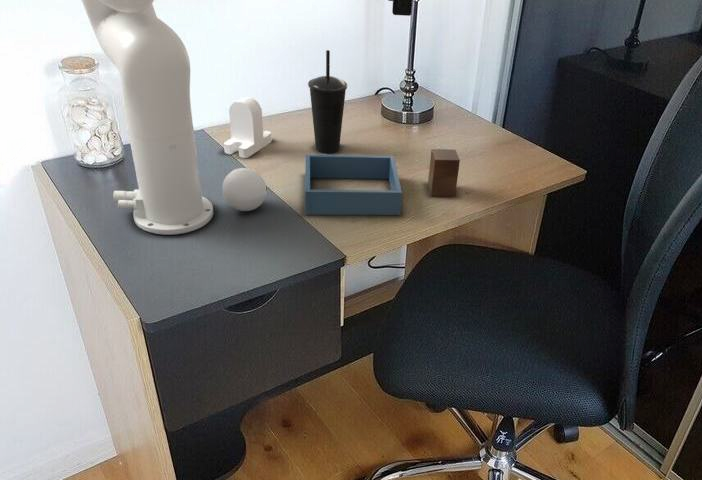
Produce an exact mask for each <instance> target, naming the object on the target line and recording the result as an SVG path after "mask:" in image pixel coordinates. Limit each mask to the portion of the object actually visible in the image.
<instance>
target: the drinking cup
mask: <svg viewBox="0 0 702 480" xmlns="http://www.w3.org/2000/svg"><path fill="white" fill-rule="evenodd" d="M330 63H331V51H330V50H328V49H327V50H326V51H325V75H322V76H317V77H314V78H311V79H310V80H309V81H308V82H307V86H308V88H309V94H310V104H311V105H310V106H311V115H312V124H313V133H314V135H313V136H314V143H315V150H316V151H318V152H319V153H324V154H334V153H337V152H339V150H340V146H341V145H340V143H341V135H342V127H343V116H344V108H345V100H346V91H347V89H348V83H347V82H346V80H343V79H341V78H338V77H336V76H333V75H331V74H330V73H331V72H330V71H331V70H330V69H331V64H330Z"/></svg>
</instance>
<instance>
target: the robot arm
mask: <svg viewBox="0 0 702 480" xmlns="http://www.w3.org/2000/svg"><path fill="white" fill-rule="evenodd" d="M387 1H388V2H392V10H391V11H392V15H393V16H406V17H407V16H408V17H410V16H412V13H413V2H414V1H413V0H387ZM154 2H155V0H81V3H82V5H83V7H84V10H85V12H86V16H87V18H88V21H89V23H90V25H91V28H92V30H93V33H94V36H95V38H96V39H97V42H98V44H99V46H100V48H101V50H102V52H103V53H104V54H105V55H106V57H107V58H108V59H109V61H111V63H112V64H113V65H114V66H115V68H116V69H117V70H118V73H119V75H120V76H119V77H120V82H121V89H122V90H121V91H122V103H123V111H124V112H123V113H124V119H125V125H126V129H127V134H128V139H129V144H130V150H131V154H132V160H133V165H134V172H135V176H136V177H135V178H136V181H137V187H138V189H137V188H135V189H133V191H129V190H128V191H127V190H114V191H113V201H114V203H117V208H118V209H133V211H132V212H133V213H132V215H133V220H134V223H135V225H136V226H137V227H138V228H140V229H141V230H143V231H146V232H148V233H151V234H156V235H166V236H167V235H171V236H172V235H180V234H181V235H182V234H187V233H190V232H193V231H196V230H199V229H201V228H202V227H204V226H205V225H207V224H208V223H209V222H210V221H211V220H212V218H213V216H214V207H213V204H212V201H210V200H209V199H207V198H206V197H204V196H203V194H202V186H201V179H200V169H199V163H198V153H197V145H196V137H195V130H194V129H195V128H194V123H193V113H192V104H191V61H190V57H189V56H190V55H189V53H188V50H187V47H186V45H185V44H184V42H183V40H182V39H181V37H180V36H179V35H178V34H177V32H176V31H175V30H174V29H173V28H171V27H170V26H169V24H166V22H164V21H163V20H161V19H160V18H158V15H157V13H156V10H155V8H154V7H155V6H154V5H153V4H154Z"/></svg>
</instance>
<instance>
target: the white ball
mask: <svg viewBox="0 0 702 480" xmlns="http://www.w3.org/2000/svg"><path fill="white" fill-rule="evenodd" d="M266 184H267V183H266V181H265V180H264V178H263V177H262V175H261V174H260V173H259V172H257V171H256V170H254V169H252V168H248V167H240V168H235V169H233V170H232V171H230V172H229V173H228V174H227V173H226V176H225V178H224V180H223V182H222V187H221V192H222V195H223V198H224V201H225V202H227V204H228V205H229V206H230V207H231V208H232V209H235V210H237V211H240V212H250V211H253V210H256V209H258V208H259V207H260V206H261V205H262V204H263V202H264V201H265V199H266V195H267V191H268V187H267V185H266Z"/></svg>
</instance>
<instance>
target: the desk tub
mask: <svg viewBox="0 0 702 480" xmlns="http://www.w3.org/2000/svg"><path fill="white" fill-rule="evenodd" d="M304 173H305V174H304V175H305V179H304V203H305V206H304V207H305V208H304V209H305V215H306V216H307V215H315V216H316V215H318V216H319V215H321V216H323V215H324V216H326V215H327V216H331V215H334V216H335V215H336V216H401V212H402V200H403V191H402V187H401V181H400V177H399V174H398V169H397V163H396V160H395V156H394V155H352V154H351V155H348V154H347V155H345V154H305V171H304ZM311 179H358V180H360V179H363V180H364V179H365V180H366V179H367V180H388V183H389V187H390V190H379V189H377V190H376V189H375V190H373V189H372V190H371V189H369V190H368V189H365V190H364V189H311Z"/></svg>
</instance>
